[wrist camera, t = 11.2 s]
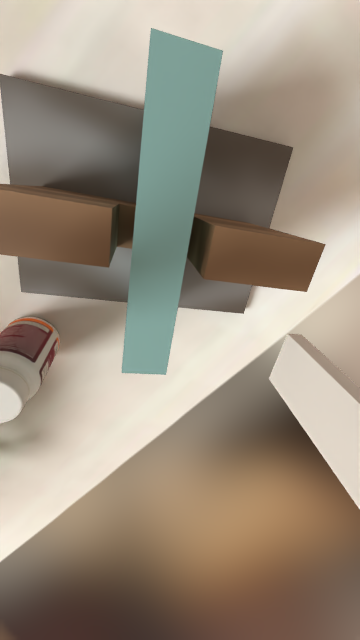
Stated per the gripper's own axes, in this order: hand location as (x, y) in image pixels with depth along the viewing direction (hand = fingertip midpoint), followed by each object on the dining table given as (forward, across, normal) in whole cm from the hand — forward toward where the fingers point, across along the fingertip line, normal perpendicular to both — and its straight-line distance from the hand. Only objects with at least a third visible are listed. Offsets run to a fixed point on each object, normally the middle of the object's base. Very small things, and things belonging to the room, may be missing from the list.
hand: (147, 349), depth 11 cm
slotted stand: (+13, 0, +4) cm, 14 cm away
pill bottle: (+13, -9, -8) cm, 18 cm away
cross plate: (+12, 0, +4) cm, 13 cm away
